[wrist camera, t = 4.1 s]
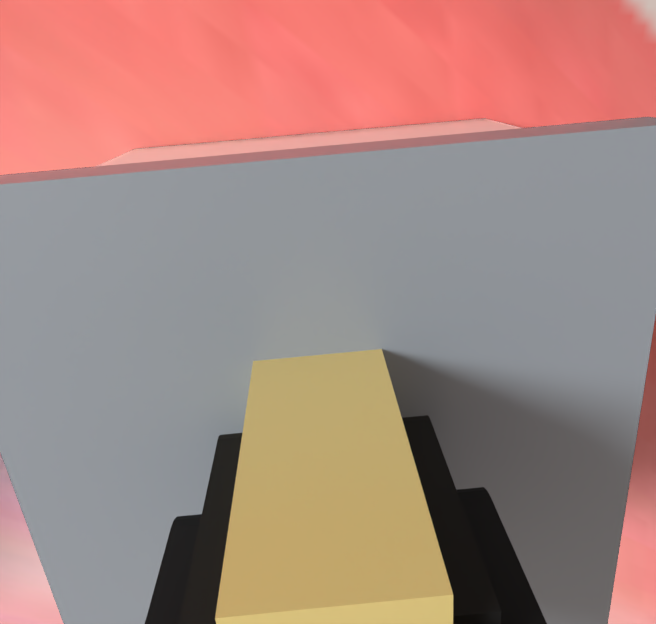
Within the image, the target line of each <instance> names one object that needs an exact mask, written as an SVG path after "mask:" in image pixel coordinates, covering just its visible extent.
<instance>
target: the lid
mask: <svg viewBox="0 0 656 624" xmlns="http://www.w3.org/2000/svg"><path fill="white" fill-rule="evenodd" d="M655 316H656V118H653V117H641V118H630V119H619V120H608V121H596V122H585V123H574V124H563V125H552V126H541V127H530V128H519V129H507V130H496V131H485V132H474V133H463V134H452V135H441V136H430V137H418V138H407V139H396V140H385V141H374V142H363V143H352V144H341V145H329V146H318V147H307V148H296V149H285V150H274V151H263V152H252V153H240V154H229V155H218V156H207V157H196V158H185V159H174V160H163V161H151V162H140V163H129V164H118V165H107V166H96V167H85V168H74V169H62V170H51V171H40V172H29V173H18V174H7V175H0V453H1V455H2V458H3V461H4V464H5V466H6V469H7V472H8V474H9V477H10V480H11V482H12V485H13V488H14V491H15V493H16V496H17V499H18V501H19V504H20V507H21V509H22V512H23V515H24V518H25V520H26V523H27V526H28V528H29V531H30V534H31V536H32V539H33V542H34V545H35V547H36V550H37V553H38V555H39V558H40V561H41V563H42V566H43V569H44V572H45V574H46V577H47V580H48V582H49V585H50V588H51V590H52V593H53V596H54V599H55V601H56V604H57V607H58V609H59V612H60V615H61V618H62V620H63V623H64V624H145V621H146V617H147V614H148V610H149V606H150V603H151V599H152V595H153V592H154V588H155V584H156V581H157V577H158V573H159V570H160V566H161V562H162V559H163V555H164V551H165V548H166V544H167V540H168V537H169V533H170V529H171V526H172V523H173V521H174V519H175V518H176V517H177V516H187V515H198V514H202V511H203V506H204V501H205V497H206V492H207V487H208V483H209V478H210V473H211V469H212V464H213V459H214V454H215V450H216V445H217V440H218V437H219V435H223V434H234V433H242V440H241V446H240V453H239V460H238V467H237V473H236V480H235V487H234V494H233V500H232V507H231V514H230V521H229V527H228V534H227V541H226V548H225V554H224V561H223V568H222V574H221V581H220V588H219V595H218V601H217V608H216V615H215V621H216V624H453V592H452V588H451V585H450V581H449V578H448V575H447V571H446V568H445V564H444V561H443V557H442V554H441V551H440V547H439V544H438V540H437V537H436V533H435V530H434V527H433V523H432V520H431V516H430V513H429V509H428V506H427V503H426V499H425V496H424V492H423V489H422V485H421V482H420V479H419V475H418V472H417V468H416V465H415V461H414V458H413V454H412V451H411V448H410V444H409V441H408V437H407V434H406V430H405V427H404V424H403V420H402V418H403V417H414V416H424V415H428V416H429V418H430V420H431V422H432V425H433V428H434V431H435V433H436V436H437V439H438V441H439V444H440V447H441V449H442V452H443V455H444V458H445V460H446V463H447V466H448V468H449V471H450V474H451V476H452V479H453V482H454V485H455V487H456V490H458V489H468V488H479V487H484V488H485V489H486V490H487V491H488V493H489V495H490V496H491V499H492V501H493V503H494V505H495V508H496V510H497V512H498V515H499V517H500V519H501V521H502V524H503V526H504V528H505V530H506V533H507V535H508V537H509V539H510V542H511V544H512V546H513V548H514V551H515V553H516V555H517V557H518V560H519V562H520V564H521V566H522V569H523V571H524V573H525V575H526V578H527V580H528V582H529V584H530V587H531V589H532V591H533V594H534V596H535V598H536V600H537V603H538V605H539V607H540V609H541V612H542V614H543V616H544V618H545V621H546V623H547V624H608V617H609V611H610V605H611V598H612V592H613V585H614V579H615V572H616V566H617V560H618V553H619V547H620V540H621V534H622V528H623V521H624V515H625V508H626V502H627V495H628V489H629V483H630V476H631V470H632V463H633V457H634V450H635V444H636V438H637V431H638V425H639V418H640V412H641V405H642V399H643V393H644V386H645V380H646V373H647V367H648V361H649V354H650V348H651V341H652V335H653V328H654V322H655Z"/></svg>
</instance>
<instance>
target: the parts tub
mask: <svg viewBox="0 0 656 624" xmlns="http://www.w3.org/2000/svg"><path fill="white" fill-rule="evenodd" d="M519 128H521V127H517V126H513V125H509V124H505V123H501V122H497V121H493V120H489V119H486V118H482V119H470V120H459V121H447V122H436V123H424V124H413V125H401V126H390V127H379V128H367V129H356V130H344V131H333V132H321V133H310V134H298V135H287V136H275V137H264V138H253V139H241V140H230V141H218V142H207V143H195V144H184V145H172V146H161V147H149V148H138V149H133V150H131V151H129V152H126V153H124V154H122V155H120V156H118V157H115V158H113V159H111V160H109V161H106V162H104V163H102V164H100V165H98V166H107V165H118V164H129V163H140V162H151V161H163V160H174V159H185V158H196V157H207V156H218V155H229V154H240V153H252V152H263V151H274V150H285V149H296V148H307V147H318V146H329V145H341V144H352V143H363V142H374V141H385V140H396V139H407V138H418V137H430V136H441V135H452V134H463V133H474V132H485V131H496V130H507V129H519ZM95 167H96V166H95Z"/></svg>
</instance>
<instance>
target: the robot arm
mask: <svg viewBox="0 0 656 624" xmlns="http://www.w3.org/2000/svg"><path fill="white" fill-rule="evenodd" d="M402 420H403V424H404V427H405V430H406V434H407V437H408V441H409V444H410V448H411V451H412V454H413V458H414V461H415V465H416V468H417V472H418V475H419V479H420V482H421V485H422V489H423V492H424V496H425V499H426V503H427V506H428V509H429V513H430V516H431V520H432V523H433V527H434V530H435V533H436V537H437V540H438V544H439V547H440V551H441V554H442V557H443V561H444V564H445V568H446V571H447V575H448V578H449V581H450V585H451V588H452V592H453V624H547V623H546V621H545V618H544V616H543V614H542V612H541V609H540V607H539V605H538V603H537V600H536V598H535V596H534V594H533V591H532V589H531V587H530V584H529V582H528V580H527V578H526V575H525V573H524V571H523V569H522V566H521V564H520V562H519V560H518V557H517V555H516V553H515V551H514V548H513V546H512V544H511V542H510V539H509V537H508V535H507V533H506V530H505V528H504V526H503V524H502V521H501V519H500V517H499V515H498V512H497V510H496V508H495V505H494V503H493V501H492V499H491V496H490V495H489V493H488V491H487V490H486V489H485V488H484V487H479V488H468V489H458V490H456V487H455V485H454V482H453V479H452V476H451V474H450V471H449V468H448V466H447V463H446V460H445V458H444V455H443V452H442V449H441V447H440V444H439V441H438V439H437V436H436V433H435V431H434V428H433V425H432V422H431V420H430V418H429V416H428V415H424V416H414V417H403V418H402ZM241 440H242V433H234V434H223V435H219V437H218V440H217V445H216V450H215V454H214V459H213V464H212V469H211V473H210V478H209V483H208V487H207V492H206V497H205V501H204V506H203V511H202V514H198V515H187V516H177V517H176V518H175V519H174V521H173V523H172V526H171V529H170V533H169V537H168V540H167V544H166V548H165V551H164V555H163V559H162V562H161V566H160V570H159V573H158V577H157V581H156V584H155V588H154V592H153V595H152V599H151V603H150V606H149V610H148V614H147V617H146V621H145V624H216V621H215V615H216V608H217V601H218V595H219V588H220V581H221V574H222V568H223V561H224V554H225V548H226V541H227V534H228V527H229V521H230V514H231V507H232V500H233V494H234V487H235V480H236V473H237V467H238V460H239V453H240V446H241Z"/></svg>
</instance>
